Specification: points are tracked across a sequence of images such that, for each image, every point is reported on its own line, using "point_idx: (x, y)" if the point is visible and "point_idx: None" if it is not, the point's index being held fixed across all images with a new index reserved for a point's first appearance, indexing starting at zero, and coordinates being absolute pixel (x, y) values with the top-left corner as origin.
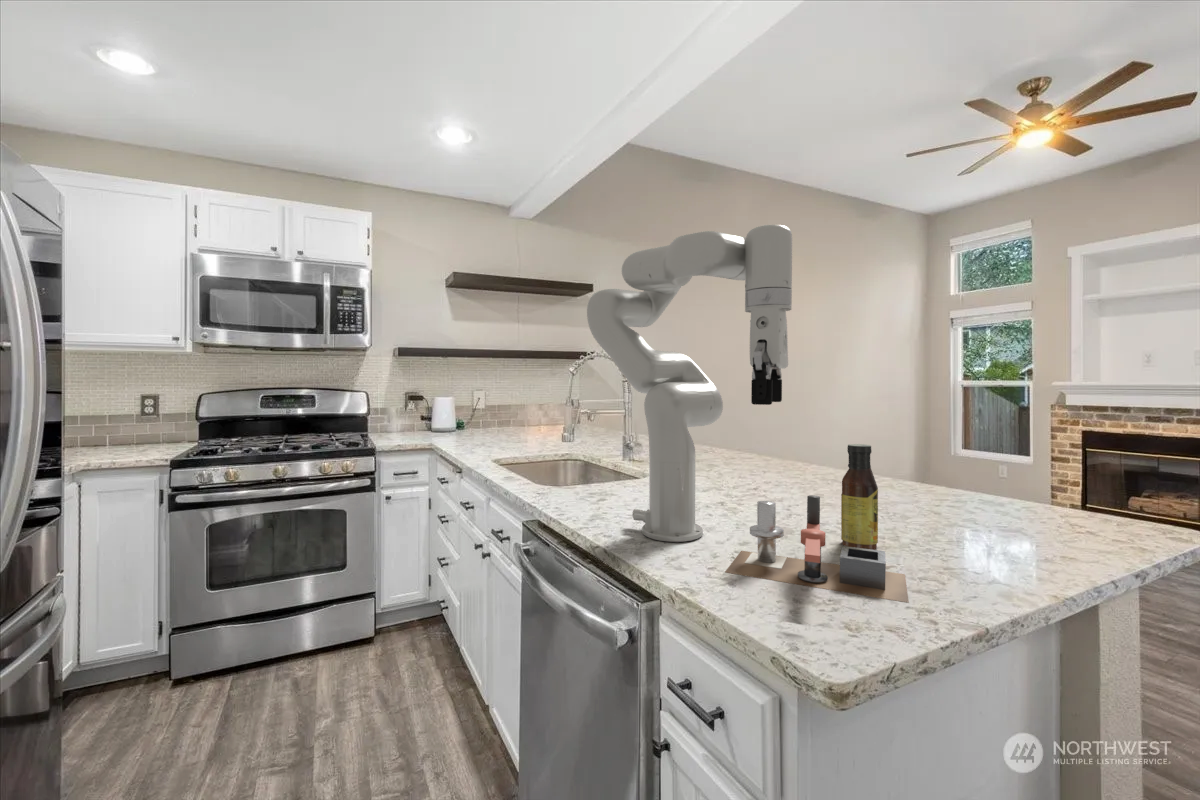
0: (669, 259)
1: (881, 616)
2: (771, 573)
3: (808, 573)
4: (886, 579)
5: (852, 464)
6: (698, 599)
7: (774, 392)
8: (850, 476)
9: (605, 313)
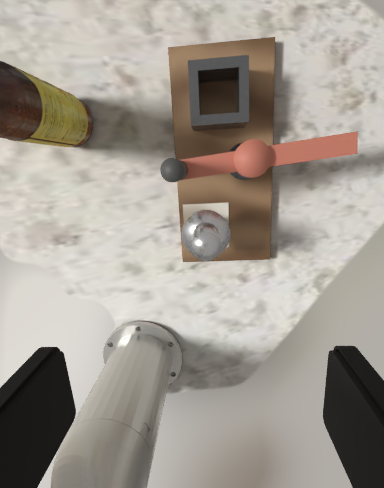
0: None
1: (307, 72)
2: (249, 209)
3: None
4: None
5: None
6: (340, 264)
7: (40, 410)
8: (3, 112)
9: None
